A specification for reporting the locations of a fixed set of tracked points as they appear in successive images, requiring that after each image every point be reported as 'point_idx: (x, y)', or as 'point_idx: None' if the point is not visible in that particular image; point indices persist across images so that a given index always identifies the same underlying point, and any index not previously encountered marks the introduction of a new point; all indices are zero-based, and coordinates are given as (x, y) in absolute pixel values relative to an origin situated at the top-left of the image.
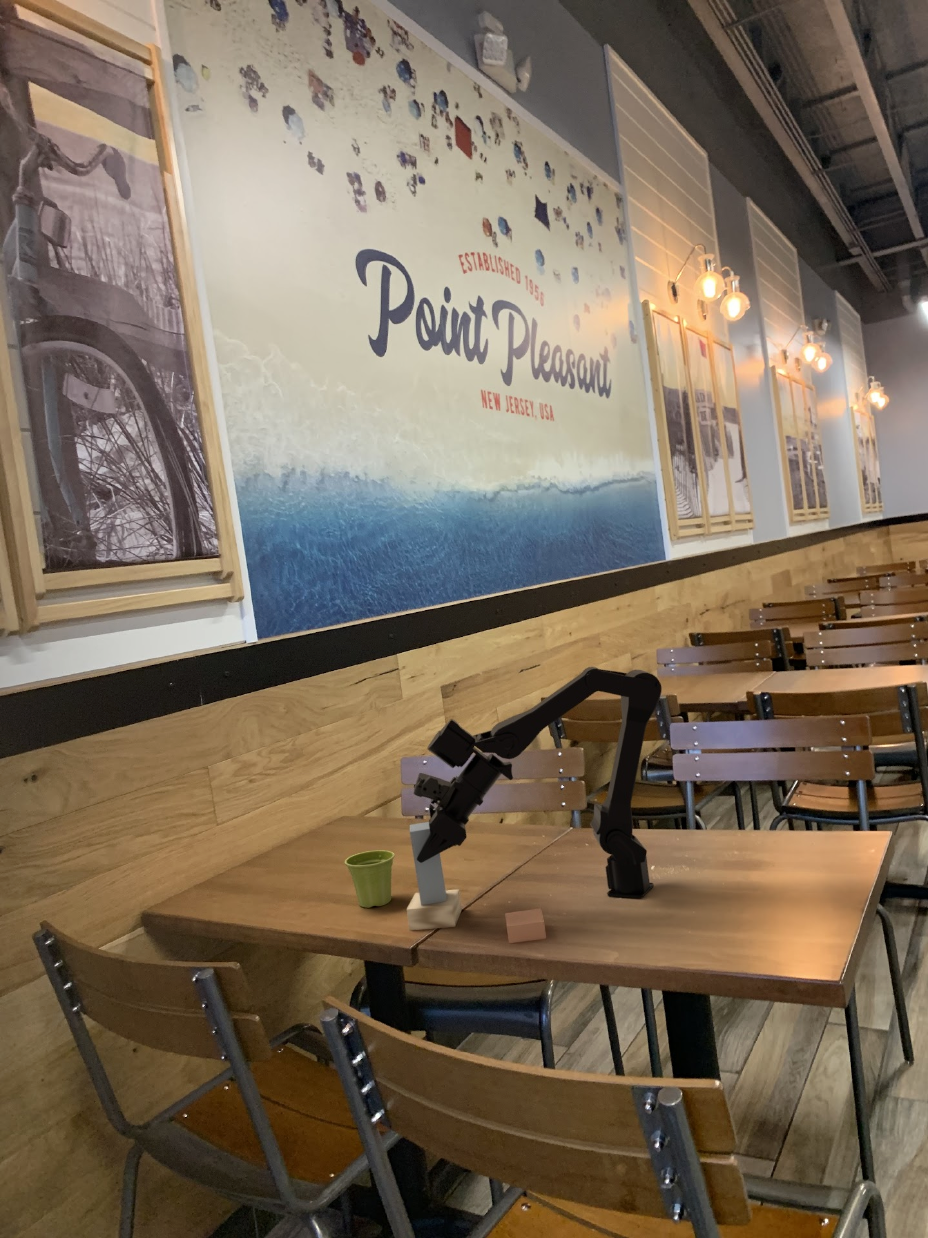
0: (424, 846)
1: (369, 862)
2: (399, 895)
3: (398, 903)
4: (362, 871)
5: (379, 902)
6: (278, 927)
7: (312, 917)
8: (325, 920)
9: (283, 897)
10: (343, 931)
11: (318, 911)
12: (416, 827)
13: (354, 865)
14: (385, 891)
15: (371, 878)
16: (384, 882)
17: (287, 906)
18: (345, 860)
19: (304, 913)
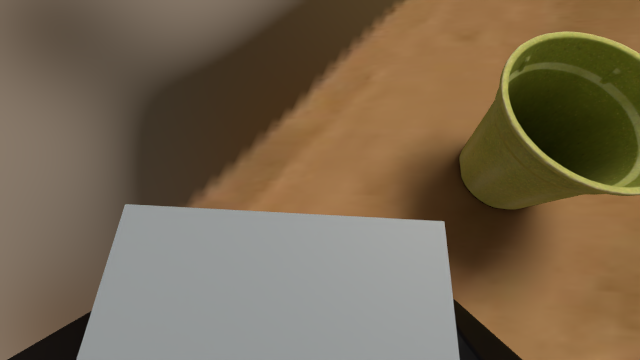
0: (31, 351)
1: (632, 121)
2: (538, 233)
3: (474, 228)
4: (498, 92)
5: (466, 177)
6: (411, 2)
7: (444, 51)
8: (416, 73)
9: (581, 3)
10: (334, 105)
11: (476, 60)
12: (260, 302)
13: (513, 56)
14: (490, 186)
15: (491, 130)
16: (501, 176)
17: (525, 11)
18: (582, 33)
19: (473, 38)
